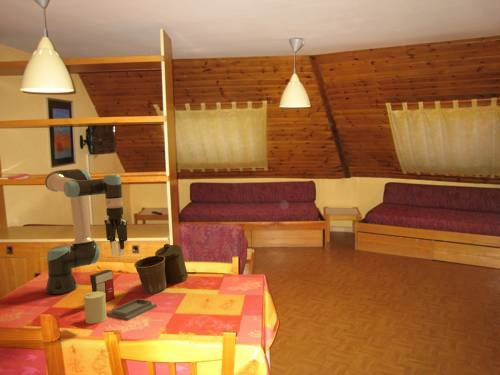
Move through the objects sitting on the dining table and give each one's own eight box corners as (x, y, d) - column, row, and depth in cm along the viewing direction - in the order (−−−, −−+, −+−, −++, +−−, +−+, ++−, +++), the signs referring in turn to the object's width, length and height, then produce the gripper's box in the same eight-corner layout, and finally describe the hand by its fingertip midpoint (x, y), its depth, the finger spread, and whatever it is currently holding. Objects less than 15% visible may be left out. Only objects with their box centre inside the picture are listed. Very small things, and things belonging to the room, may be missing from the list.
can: (88, 316, 191) (87, 290, 190) (109, 314, 192) (107, 289, 191) (82, 324, 182) (80, 297, 181) (104, 323, 183) (102, 296, 182)
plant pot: (138, 298, 214) (132, 269, 211) (140, 286, 230) (135, 258, 227) (169, 292, 217) (164, 263, 214) (170, 280, 232) (165, 253, 229)
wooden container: (186, 269, 246) (177, 236, 239) (189, 280, 232) (180, 245, 226) (161, 277, 243) (152, 243, 236) (163, 288, 229) (153, 253, 222)
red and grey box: (97, 306, 203) (95, 276, 202) (92, 304, 206) (89, 275, 204) (115, 298, 213) (113, 270, 212) (109, 297, 215) (107, 269, 214)
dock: (106, 314, 192) (106, 309, 192) (135, 301, 207) (135, 297, 207) (128, 320, 185) (127, 314, 185) (156, 306, 200) (156, 301, 200)
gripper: (96, 207, 198) (99, 255, 200) (120, 208, 189) (124, 258, 191) (108, 205, 205) (112, 252, 206) (133, 206, 196) (136, 255, 197)
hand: (118, 255), depth 199 cm, fingers open, 4 cm apart
